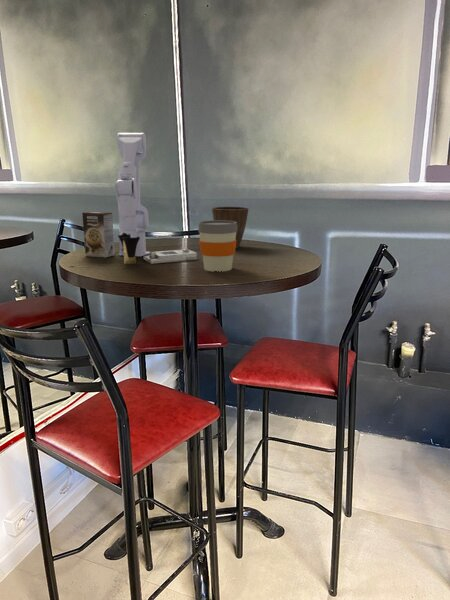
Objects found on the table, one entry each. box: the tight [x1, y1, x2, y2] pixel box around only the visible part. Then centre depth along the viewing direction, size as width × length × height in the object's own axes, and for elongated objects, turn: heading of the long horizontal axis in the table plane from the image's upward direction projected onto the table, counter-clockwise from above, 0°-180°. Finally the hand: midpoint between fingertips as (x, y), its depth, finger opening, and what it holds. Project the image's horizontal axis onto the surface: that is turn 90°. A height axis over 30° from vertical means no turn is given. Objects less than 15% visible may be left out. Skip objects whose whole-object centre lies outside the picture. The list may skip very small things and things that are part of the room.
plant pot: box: [211, 206, 249, 249], centre depth 192 cm, size 15×15×16 cm
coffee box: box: [81, 211, 115, 259], centre depth 174 cm, size 9×6×16 cm
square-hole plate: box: [143, 248, 198, 265], centre depth 168 cm, size 17×9×3 cm, turn 116°
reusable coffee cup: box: [197, 220, 237, 273], centre depth 151 cm, size 13×13×15 cm
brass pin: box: [123, 241, 137, 265], centre depth 161 cm, size 4×4×8 cm
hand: (129, 256), depth 161 cm, fingers closed on brass pin, 4 cm apart
